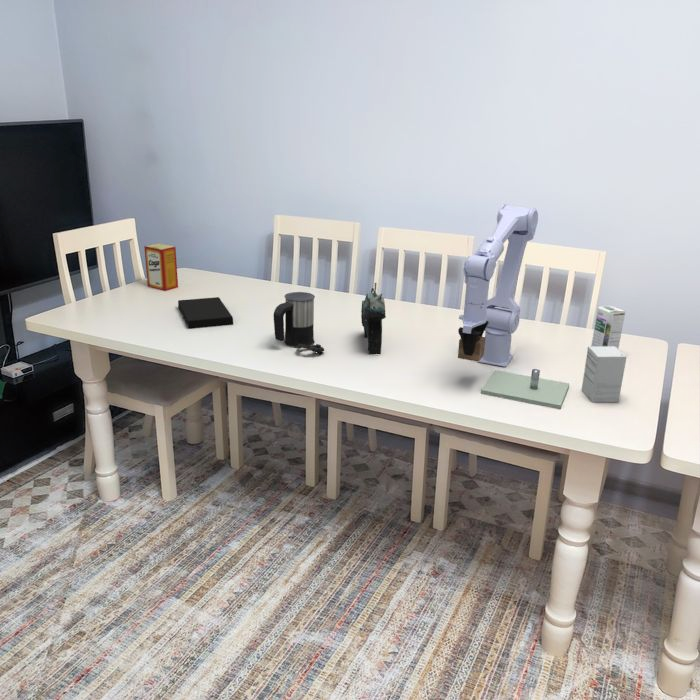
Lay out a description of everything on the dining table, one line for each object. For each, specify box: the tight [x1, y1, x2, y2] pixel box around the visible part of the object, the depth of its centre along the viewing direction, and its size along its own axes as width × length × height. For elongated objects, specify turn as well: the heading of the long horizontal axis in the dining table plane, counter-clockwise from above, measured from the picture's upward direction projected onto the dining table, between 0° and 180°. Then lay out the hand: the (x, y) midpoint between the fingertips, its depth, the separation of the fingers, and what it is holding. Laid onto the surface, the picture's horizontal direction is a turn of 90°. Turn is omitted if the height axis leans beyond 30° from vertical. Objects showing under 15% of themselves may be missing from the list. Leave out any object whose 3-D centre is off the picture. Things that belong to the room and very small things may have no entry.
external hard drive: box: [177, 296, 234, 330], centre depth 230 cm, size 14×23×3 cm, turn 21°
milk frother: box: [273, 291, 325, 354], centre depth 203 cm, size 14×16×15 cm
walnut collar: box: [457, 336, 486, 363], centre depth 181 cm, size 6×6×5 cm
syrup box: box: [591, 305, 626, 350], centre depth 203 cm, size 6×6×14 cm
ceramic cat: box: [360, 282, 387, 355], centre depth 205 cm, size 20×6×20 cm, turn 4°
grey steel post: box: [530, 368, 541, 390], centre depth 178 cm, size 2×2×5 cm
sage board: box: [480, 369, 570, 410], centre depth 180 cm, size 15×20×1 cm
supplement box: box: [581, 345, 627, 403], centre depth 175 cm, size 7×7×13 cm
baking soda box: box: [144, 242, 179, 292], centre depth 258 cm, size 10×6×16 cm
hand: (471, 350), depth 182 cm, fingers closed on walnut collar, 6 cm apart
